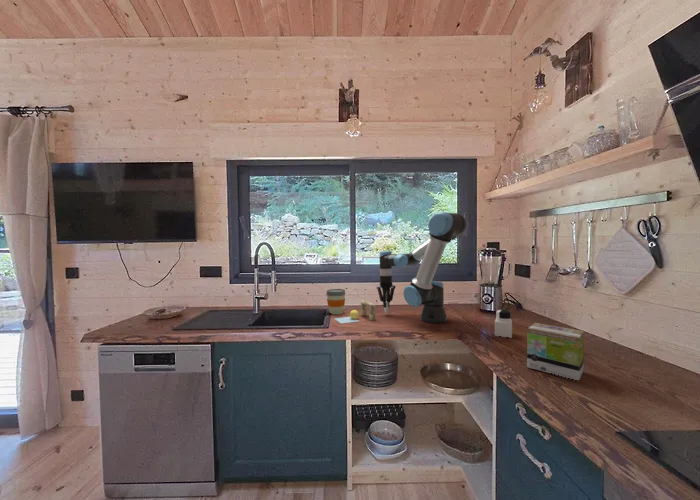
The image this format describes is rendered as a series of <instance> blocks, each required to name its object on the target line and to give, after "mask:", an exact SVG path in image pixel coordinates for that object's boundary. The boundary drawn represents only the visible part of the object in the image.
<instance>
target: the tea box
mask: <svg viewBox="0 0 700 500" xmlns="http://www.w3.org/2000/svg"><path fill="white" fill-rule="evenodd" d="M526 337H527V339H526V341H527V342H526V345H527V347H526V348H527V349H526V350H527V351H526V354H527V355H526V358H527V360H526V365H527V369H528V368H529V369H533V370H537V371H541V372H543V373H547V374H551V373H552V374H551V375H554V374H555V375H554V376H558V375H559V376H558V377H561V376H562V377H561V378H565V377H566V378H565V379H568V378H570V379H569V380H571V379H574V380H573V381H575V380H579V381H580V379H581V377H582V375H583V372H584V362H585V361H584V359H585V356H584V353H585V352H584V350H585V343H584V342H585V331H584V330H578V329H573V328H568V327H561V326H557V325H549V324H544V323H539V322H538V323H537V322H533V324H532V325H530V326H529V327H528V328H527V336H526Z"/></svg>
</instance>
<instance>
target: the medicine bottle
mask: <svg viewBox="0 0 700 500" xmlns="http://www.w3.org/2000/svg"><path fill="white" fill-rule="evenodd" d="M495 313H496V315H495V316H496V318H495V320H494V336H495V337H499V336H501V337H500V338H506V337H509V339H512V338H513V320H512V319H511V312H510V311H509V310H507V309H498V310H496V311H495Z"/></svg>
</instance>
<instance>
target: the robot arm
mask: <svg viewBox="0 0 700 500" xmlns="http://www.w3.org/2000/svg"><path fill="white" fill-rule="evenodd" d="M467 225H468V223H467V220H466V217H464V215H462V214H460V213H456V212H447V211H441V212H436V213H434V214H433V215H432V216H430V218H429V219H428V222H427V228H428V232H429V233H428V237H429V238H428V239H427V240H426V241H424V242H422V243H421V244H420V245H418V246H416V248H415V249H413V250H412V251H411V252H409V253H396V254H393V253H392V251H391V250H381V251H379V256H378V257H379V285H378V286H376V289H377V292H378V296H379V301H380V302H382V306H383V308H384V313H386V314H389V307H390V306H391V305H390V303H391V302H392V301H393V299H394V293H395V289H396V287H397V286H396V285H394V284H393V271H392V270H393V267H397V268H404V267H410V266H417V265H419V264H420V266H419V268H418V270H417V274H416V276H415V277H413V278H412V279H411V282H410V284H409V285H407V286H405V287H404V289H403V298H404V301H405V302H406V303H407V304H408V305H409V306H411V307H420V306H422V309H421V313H420V315H419V316H420V320H421V321H422V322H425V323H431V324H432V323H433V324H437V323H438V324H440V323H446V322H447V321H448V316H447V313H446V311H445V307H444V300H445V299H444V297H445V296H444V283H443V282H442V281H437V280H433V279H434V276H435V274H436V271H437V269H438V266H439V264H440V261H441V258H442V256H443V253H444V251H445V250H446V249H445V248H446V246H447V245H448V244H449V243H451V242H452V241H454V240H455V239H457V238H458V237H461V236H462V234H464V233H465V231H466V230H467V227H468V226H467Z"/></svg>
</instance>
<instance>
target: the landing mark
mask: <svg viewBox="0 0 700 500" xmlns="http://www.w3.org/2000/svg"><path fill="white" fill-rule="evenodd" d="M333 319H334V320H335V321H336V322H338V323H339V324H340V325H341V324H348V323H349V324H350V323H357V322H360V320H359V319H358V318H357V319H352V318H351V317H350V316H343V317H336V318H333Z"/></svg>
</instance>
